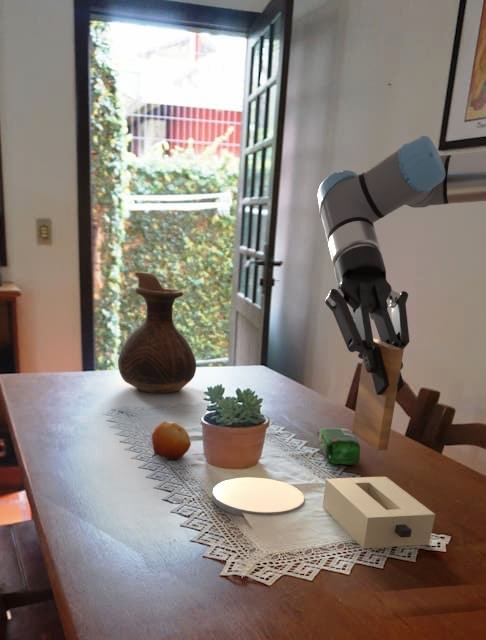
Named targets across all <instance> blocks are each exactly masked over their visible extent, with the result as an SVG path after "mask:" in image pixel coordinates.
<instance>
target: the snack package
mask: <svg viewBox="0 0 486 640" xmlns="http://www.w3.org/2000/svg"><path fill="white" fill-rule="evenodd" d="M317 435H318V441H319V442H318V443H319V446H320V449H321V451H322V453H323V456H324V458H325V459H326V460H327V462H329V463H330V464H333V465H346V466H347V465H349V466H351V465H355V464H356V463H358V462H359V461H360V459H361V458H360V457H361V456H360V455H361V446H360V443H359V441H358V440H357V438H356V435H355V434H354V433H352V431H351V430H350V429H349V428H348V429H347V428H340V427H323V428H321V429H320V430H319V431H317Z"/></svg>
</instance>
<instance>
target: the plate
mask: <svg viewBox="0 0 486 640" xmlns="http://www.w3.org/2000/svg"><path fill="white" fill-rule="evenodd" d="M211 498H212V499H211V500H212V501H213V503H214V504H215V505H216V507H218V508H219V509H221V510H223V511H225V512H227V513H230V514H233V515H235V516H239V517H244V518H245V515H244V513H251V514H261V515H262V514H263V515H273V514H283V513H288V512H292V511H295V510H297V509H300V508H301V506H303V504H304V502H305V495H304V493H303V492H302V491H301V490H300V489H298V488H297V487H295V486H293V485H292V484H289V483H286V482H284V481H281V480H275V479H271V478H264V477H237V478H236V477H235V478H230V479H226V480H222V481H221V482H219V483H217V484H216V485H215V486H214V487H213V489H212V496H211Z"/></svg>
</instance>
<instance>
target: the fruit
mask: <svg viewBox="0 0 486 640" xmlns="http://www.w3.org/2000/svg"><path fill="white" fill-rule="evenodd" d="M151 443H152V450H153V455H152V456H151V458H154V457H156V456H160V457H162V458H164V459H168V460H173V461H177V460H179V459H181V458H182V457H183V456H184V455H185V454H187V453H188V452H189V450H190V448H191V439H190V434H189V433H188V431H187V430H186V428H185V427H183V426H182V425H179V424H178V423H176V422H169V421H162V422H161V423H159V424H158V425H156V427H155V428H154V429H153V432H152V434H151Z"/></svg>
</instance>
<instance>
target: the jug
mask: <svg viewBox="0 0 486 640" xmlns="http://www.w3.org/2000/svg"><path fill="white" fill-rule="evenodd" d="M134 275H135V277H136V278H137V280H138V286H137V287H135V289H134V291H135V293H136V294H138V295H139V296H141V297H142V298H143V299H144V301H145V306H146V317H145V320H144V322H143V323H142V324H141V325H140V326H138V327H137V328H136V329H134V330H133V331H132V332H131V334H130V335H129V336H128V337H127V340H126V341H125V342H124V344H123V346H122V348H121V350H120V353H119V356H118V359H117V366H118V371H119V374H120V376H121V378H122V380H123V381H124V382H125V383H126V384H128V385H131V386H132V387H134V388H136V389H137V390H139V391H141V392H146V393H153V394H160V393H163V394H164V393H173V392H178V391H181V389H183V388H184V387H185V386H186V385H187V384H189V383H190V382H191V381H192V380H193V379H194V377H195V374H196V370H197V360H196V356H195V353H194V351H193V349H192V346H191V345H190V343H189V341H188V340H187V338H186V337H185V336H184V334H183V333H181V331H180V330H179V329H178V328H176V325H175V323H174V319H173V308H174V307H173V306H174V303H175V301H176V299H178V298H181V297H182V296H184V292H183V291H182V290H179V289H175V288H163V286H162V285H161V284H160V282H159V280H158V278H157V276H156V275H155V274H154V273H152V272H143V271H138V272H135V273H134Z"/></svg>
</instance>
